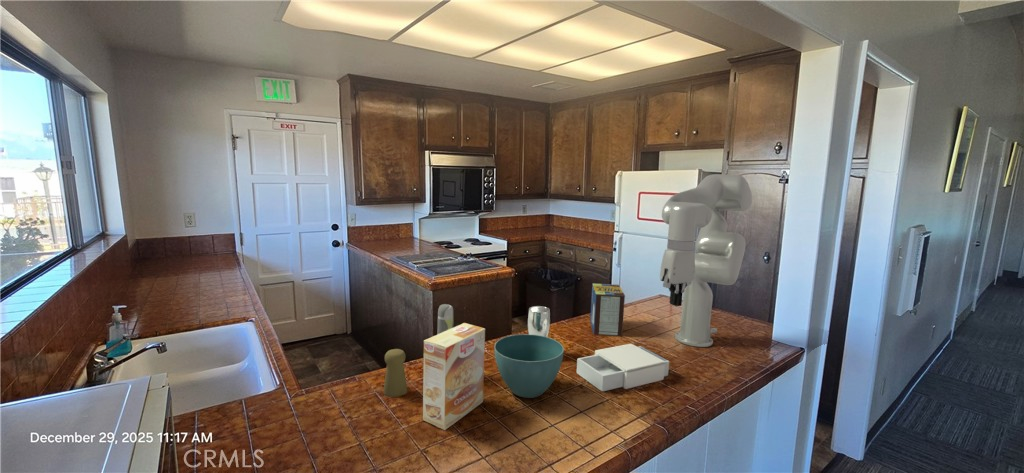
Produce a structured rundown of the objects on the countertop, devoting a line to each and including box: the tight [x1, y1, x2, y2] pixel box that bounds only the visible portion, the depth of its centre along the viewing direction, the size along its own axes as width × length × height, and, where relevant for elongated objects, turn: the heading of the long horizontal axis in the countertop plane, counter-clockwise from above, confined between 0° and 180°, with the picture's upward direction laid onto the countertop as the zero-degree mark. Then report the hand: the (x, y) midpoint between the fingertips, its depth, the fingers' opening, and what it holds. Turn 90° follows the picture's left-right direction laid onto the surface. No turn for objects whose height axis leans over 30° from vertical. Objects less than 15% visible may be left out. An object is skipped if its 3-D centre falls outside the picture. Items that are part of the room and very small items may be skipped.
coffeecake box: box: [422, 322, 486, 431], centre depth 102 cm, size 15×7×20 cm, turn 148°
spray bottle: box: [436, 303, 455, 335], centre depth 121 cm, size 5×5×20 cm
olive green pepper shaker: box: [382, 348, 408, 398], centre depth 111 cm, size 6×6×11 cm
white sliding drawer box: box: [576, 345, 670, 392], centre depth 125 cm, size 24×12×4 cm, turn 116°
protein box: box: [589, 283, 626, 337], centre depth 162 cm, size 10×15×16 cm
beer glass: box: [527, 305, 551, 337], centre depth 136 cm, size 7×7×15 cm
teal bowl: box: [493, 333, 565, 399], centre depth 113 cm, size 18×18×12 cm
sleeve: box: [594, 343, 665, 390], centre depth 126 cm, size 14×14×6 cm
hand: (675, 304), depth 131 cm, fingers closed
